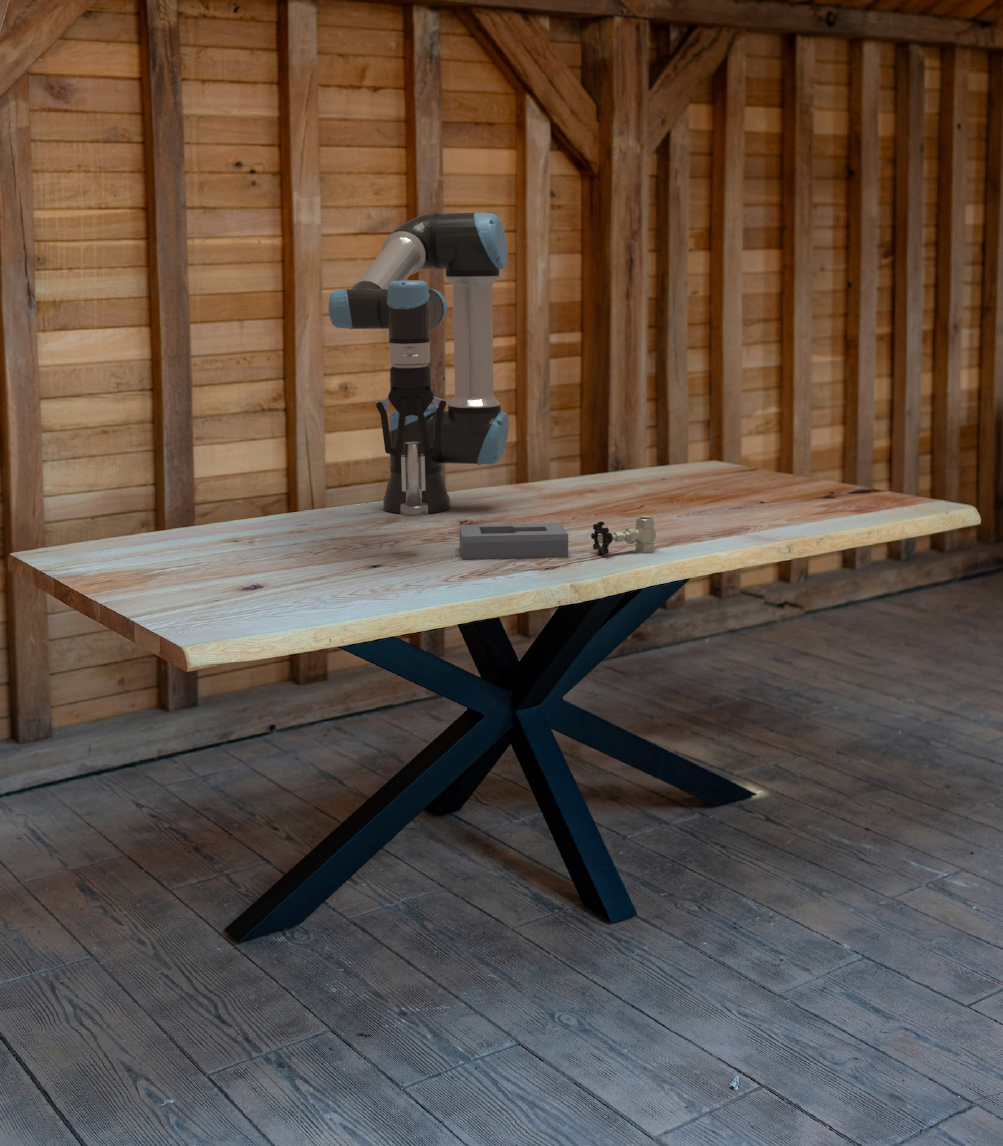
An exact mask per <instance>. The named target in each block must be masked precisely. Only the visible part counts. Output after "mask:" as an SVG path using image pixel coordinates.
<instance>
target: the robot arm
mask: <svg viewBox="0 0 1003 1146" xmlns="http://www.w3.org/2000/svg"><path fill="white" fill-rule="evenodd" d="M507 264H508V244H507V237H506V233H505V229H504V227H503V223H502V221H501V219H500V218H499V217H498V216H497V215H496V214H494V213H491V212H490V213H489V212H477V211H476V212H456V213H455V212H453V213H452V212H450V213H447V212H446V213H436V212H435V213H433V212H432V213H426V214H422V215H419V216H416V217H414V218H412V219H409V220H408V221H406V222H404V223H402V224H401V225H399V226H398V227H397V228H394V230H393V231H392V232H390V233H389V234H388V235H387V237H386V238H385V240H384V241H383V243H382V246H381V252H380V253H379V254H378V256H377V257H376V258H375V260H373V262H372V263H371V264H370V266H369V267H368V268H367V269H366V270H365V272H364V273H363V274H362V275H361V277H359V279H358V280H357V281H356V283H355V284H353V286H352V287H351V288H343V289H342V288H340V289H334V290H333V291H332V292H331V293H330V296H329V299H328V316H329V319H330V320H329V321H330V322H331V324H332V325H333V327H334V328H337V329H350V330H385V329H386V330H388V341H389V342H388V349H389V351H388V352H389V353H388V354H389V364H390V365H392V366H391V367H390V368H389V379H390V381H389V382H390V384H389V385H390V387H389V388H390V390H389V393H388V395H387V397H385V398H383V399H382V400H377V401H376V402H375V406H376V408H377V411H378V412H379V416H380V420H381V421H380V422H381V428H382V435H383V436H382V437H383V444H384V452H385V453H386V454H388V455H389V468H390V469H389V471H390V473H389V479H388V481H387V485H386V490H385V494H384V497H383V500H382V502H383V510H384V511H386V512H390V513H395V514H401V504H404V503H406V470H405V448H404V443H406V442H420V451H421V456H420V457H421V490H422V503H426V504H428V514H431V513H432V514H433V513H435V514H436V513H440V512H445V511H447V510H450V508H451V499H450V495H449V494H448V491H447V487H446V484H445V483H446V482H445V480H444V477H443V474H442V473H443V471H442V469H443V468H442V464H458V465H459V464H461V465H465V464H466V465H477V466H481V465H495V464H497V463H499V462H500V461H501V459H502V458H503V456H504V453H505V451H506V447H507V443H508V437H509V431H510V429H509V428H510V421H509V414H508V413H507V412H505V411H503V410H501V402H500V401H499V400H498V399H497V398H496V396H495V395H494V320H493V319H494V315H493V314H494V313H493V312H494V311H493V307H494V306H493V303H494V302H493V301H494V300H493V286H494V284H495V282H496V281H498V279H500V270H503V269H506V267H507ZM425 269H426V270H429V269H431V270H433V269H434V270H435V269H437V270H445V279H447V281H448V282H449V283H450V284H451V285H452V306H453V307H452V308H453V309H452V310H453V311H452V314H453V317H452V318H453V319H452V321H453V351H454V352H453V360H454V361H453V363H454V366H453V369H454V371H453V372H454V376H453V377H454V397H453V398H452V399H450V401H449V402H448V403H447V402H446V400H445V399H443V398H440V397H438V396H434V393H433V391H432V386H431V385H432V383H431V380H432V379H431V368H430V366H429V365H428V364H430V362H431V345H430V330H431V329H434V328H436V327H437V326H438V325H440V324H441V323H442V322H443V321H444V320H445V318H446V316H447V314H448V313H447V312H448V303H447V300H446V298H445V296H444V295H443V294H442V292H440V291H438V290H437V289H434V288H431V287H429V285H428V283H427V282H426V281H425V280H420V279H417V280H414V279H413V280H411V279H409V278H410V276H411V275H412V276H413V275H415V274H416V273H418V272H419V271H421V270H425ZM408 279H409V280H408ZM390 404H391V405H392V407H394V409H395V410H393V411H391V413H390V415H389V417H388V412H387V411H389V410H390V409H389V408H390V406H389V405H390ZM446 406H447V410H445V408H446ZM388 418H389V420H388Z"/></svg>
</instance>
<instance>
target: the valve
mask: <svg viewBox="0 0 1003 1146" xmlns="http://www.w3.org/2000/svg"><path fill="white" fill-rule="evenodd" d="M635 522H636V523H635V529H634V528H632V527H631V528H626V529H625V531H624V532H622V531H619V532H614V533H613V534H612V533H611V532H609V531H610V529H609V527H607V526H606V527H604V526H605V522H604V520H603V521H598V522H597V523H594V524H592V530H594V532H592V533H591V534H590V539H592V540H593V541H594V543H593V544H592V548H593V550H595V551H596V554H597V556H604V555H605V554H606V555H607V554H609V550H610V549H609V547H610V545H611V543H613V541H614V542H615V543H622V542H626V544H628V545H633V544H635V552H636V553H640V554H641V553H642V554H648V553H654V544H655V543H654V542H655V539H656V535H657V533H656V529H655V527H654V526H655V517H653V516H645V515H641V516H637V517H636V518H635ZM600 544H601V545H600Z"/></svg>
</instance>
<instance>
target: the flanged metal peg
mask: <svg viewBox="0 0 1003 1146" xmlns="http://www.w3.org/2000/svg"><path fill="white" fill-rule="evenodd" d="M404 448H405V470H406V503H404V504H401V513H400V515H402V516H405V517H417V516H418V517H419V516H420V517H421V516H425V515H428V514H429V513H428V504H426V503H422V490H421V457H420V456H421V451H420V442H406V443H404Z"/></svg>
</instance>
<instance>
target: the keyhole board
mask: <svg viewBox="0 0 1003 1146" xmlns="http://www.w3.org/2000/svg"><path fill="white" fill-rule="evenodd" d="M458 527H459V533H458V534H459V550H460V553H461V557H462V560H489V559H490V560H491V559H492V560H493V559H496V560H497V559H526V558H527V559H532V558H533V559H535V558H568V557H569V533H568V531H567V530H566V528H565V527H564V526H563V523H561V522H551V523H550V522H548V523H547V522H545V523H544V522H538V523H509V524H508V523H506V524H504V523H503V524H499V523H498V524H495V523H494V524H463V525H461V524H460V525H459V526H458Z"/></svg>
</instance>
